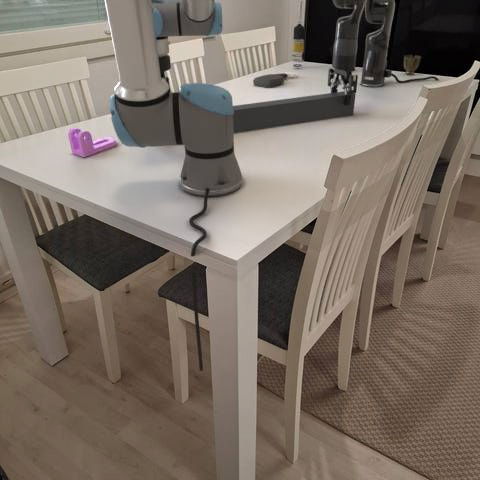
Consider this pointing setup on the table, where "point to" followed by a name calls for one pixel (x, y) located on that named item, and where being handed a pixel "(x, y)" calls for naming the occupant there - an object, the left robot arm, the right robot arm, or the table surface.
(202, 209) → the left robot arm
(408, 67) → the cup
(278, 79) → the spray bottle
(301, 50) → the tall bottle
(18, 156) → the table surface
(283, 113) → the bar
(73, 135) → the bracket
